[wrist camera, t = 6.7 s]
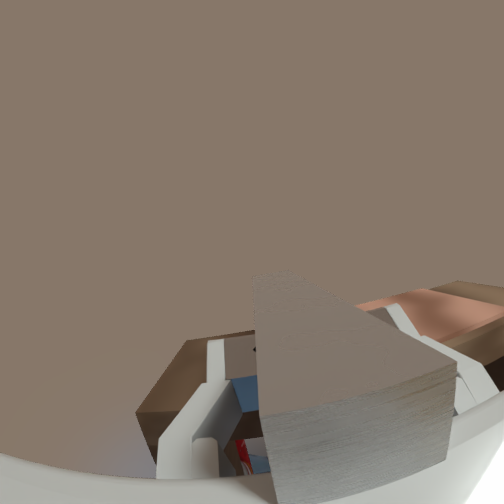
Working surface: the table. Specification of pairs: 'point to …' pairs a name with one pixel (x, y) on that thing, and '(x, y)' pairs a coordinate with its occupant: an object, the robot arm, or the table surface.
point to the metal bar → (343, 394)
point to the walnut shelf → (413, 304)
